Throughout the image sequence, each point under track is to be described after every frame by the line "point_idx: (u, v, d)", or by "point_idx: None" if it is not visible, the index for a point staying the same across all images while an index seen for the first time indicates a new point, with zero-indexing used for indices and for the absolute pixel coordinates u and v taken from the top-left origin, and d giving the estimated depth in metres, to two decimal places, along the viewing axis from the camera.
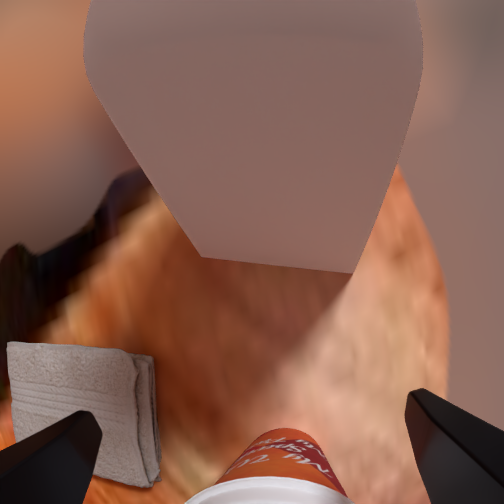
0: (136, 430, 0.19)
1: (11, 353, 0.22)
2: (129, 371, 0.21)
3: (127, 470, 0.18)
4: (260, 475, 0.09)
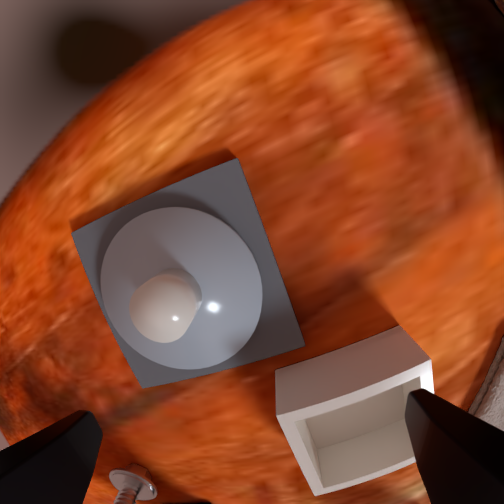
0: None
1: None
2: None
3: None
4: None
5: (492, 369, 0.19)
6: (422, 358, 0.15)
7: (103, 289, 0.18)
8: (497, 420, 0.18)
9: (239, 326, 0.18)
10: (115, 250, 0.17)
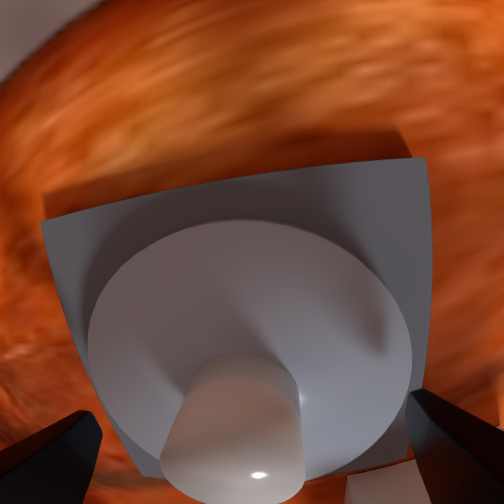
0: None
1: None
2: None
3: None
4: None
5: None
6: None
7: (92, 353, 0.08)
8: None
9: (340, 450, 0.09)
10: (126, 290, 0.08)
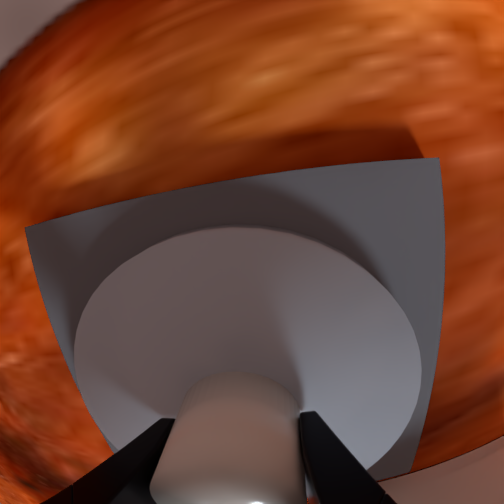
0: None
1: None
2: None
3: None
4: None
5: None
6: None
7: (79, 368, 0.08)
8: None
9: None
10: (111, 303, 0.07)
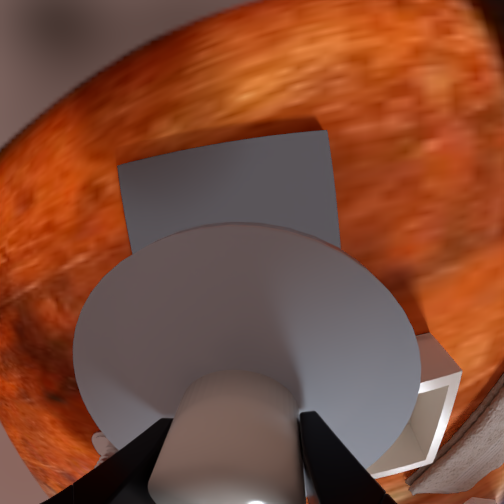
0: (441, 490, 0.21)
1: None
2: (464, 488, 0.21)
3: (430, 485, 0.20)
4: None
5: (492, 393, 0.19)
6: (454, 368, 0.14)
7: (78, 366, 0.08)
8: (482, 443, 0.19)
9: None
10: (110, 301, 0.07)
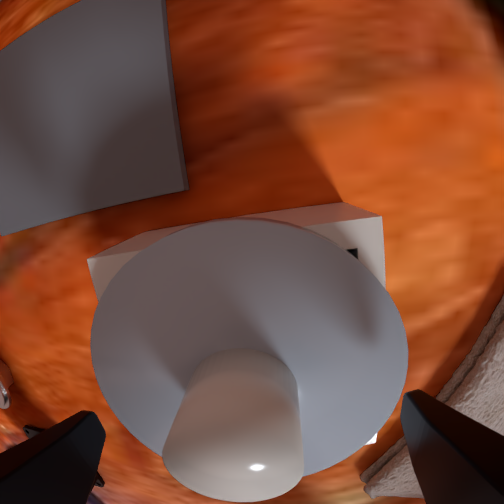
0: (417, 493, 0.15)
1: None
2: None
3: (395, 485, 0.15)
4: None
5: (484, 334, 0.14)
6: (365, 216, 0.09)
7: (95, 349, 0.09)
8: (476, 420, 0.13)
9: (339, 444, 0.09)
10: (129, 287, 0.08)
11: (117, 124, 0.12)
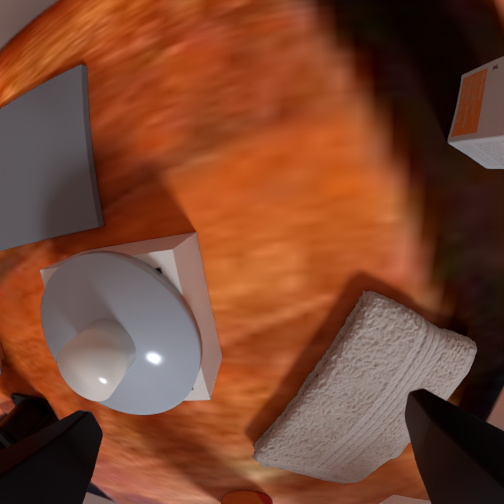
0: (307, 471, 0.22)
1: (461, 366, 0.18)
2: (350, 479, 0.22)
3: (277, 456, 0.21)
4: None
5: (339, 334, 0.20)
6: (168, 248, 0.15)
7: (43, 318, 0.15)
8: (340, 409, 0.20)
9: (171, 390, 0.15)
10: (55, 285, 0.15)
11: (61, 184, 0.19)
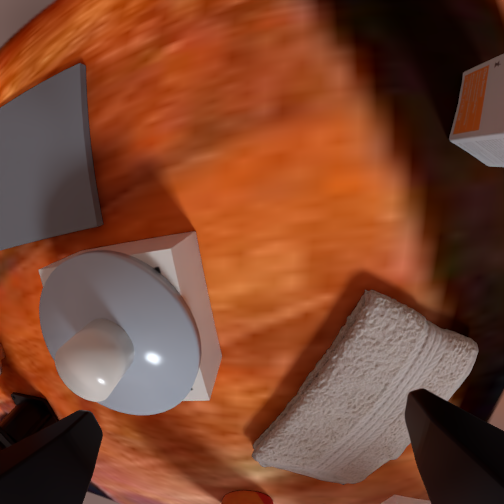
0: (306, 471, 0.22)
1: (463, 367, 0.18)
2: (349, 479, 0.22)
3: (276, 456, 0.21)
4: None
5: (341, 333, 0.20)
6: (166, 247, 0.15)
7: (41, 318, 0.15)
8: (340, 409, 0.19)
9: (170, 390, 0.15)
10: (53, 285, 0.14)
11: (60, 183, 0.18)
